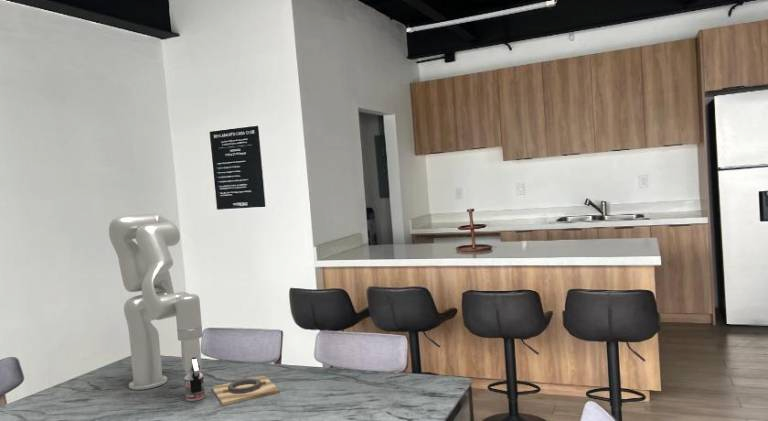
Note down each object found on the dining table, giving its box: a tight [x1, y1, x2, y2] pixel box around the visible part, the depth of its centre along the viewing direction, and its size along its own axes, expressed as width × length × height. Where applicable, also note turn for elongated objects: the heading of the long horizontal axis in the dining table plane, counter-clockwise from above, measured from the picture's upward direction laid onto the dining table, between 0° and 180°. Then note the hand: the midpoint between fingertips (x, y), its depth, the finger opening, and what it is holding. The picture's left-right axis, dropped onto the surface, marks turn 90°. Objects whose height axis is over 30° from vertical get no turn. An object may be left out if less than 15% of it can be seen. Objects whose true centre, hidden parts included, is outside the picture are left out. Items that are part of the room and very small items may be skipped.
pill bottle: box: [184, 368, 206, 402], centre depth 184 cm, size 6×6×10 cm
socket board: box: [211, 375, 281, 407], centre depth 187 cm, size 18×18×2 cm
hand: (194, 388), depth 184 cm, fingers open, 6 cm apart
